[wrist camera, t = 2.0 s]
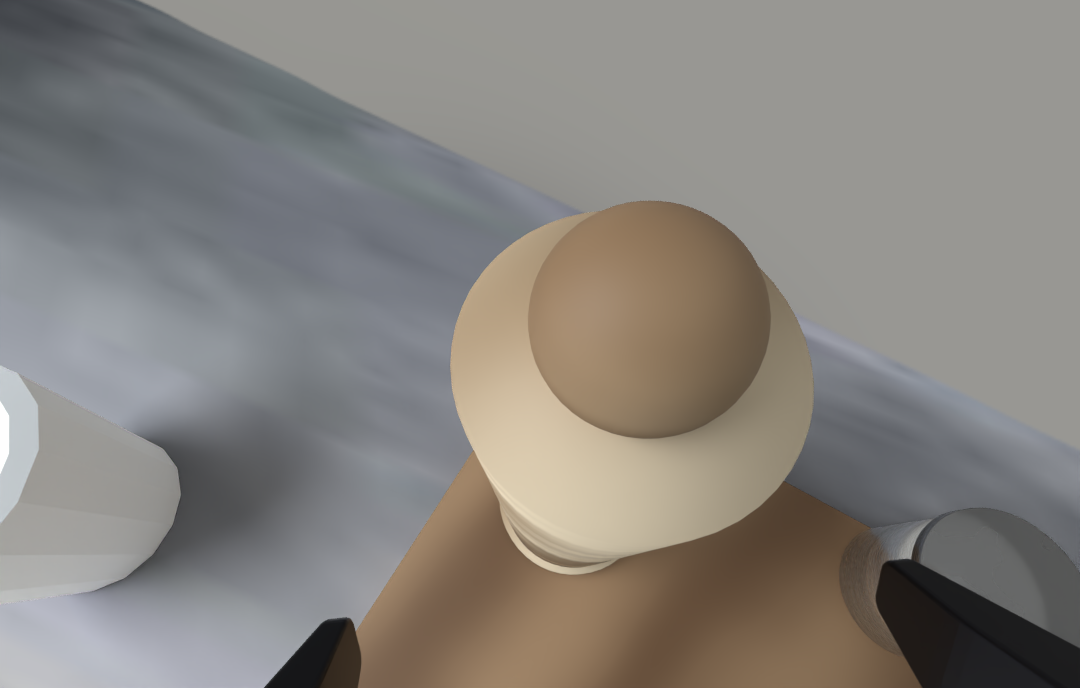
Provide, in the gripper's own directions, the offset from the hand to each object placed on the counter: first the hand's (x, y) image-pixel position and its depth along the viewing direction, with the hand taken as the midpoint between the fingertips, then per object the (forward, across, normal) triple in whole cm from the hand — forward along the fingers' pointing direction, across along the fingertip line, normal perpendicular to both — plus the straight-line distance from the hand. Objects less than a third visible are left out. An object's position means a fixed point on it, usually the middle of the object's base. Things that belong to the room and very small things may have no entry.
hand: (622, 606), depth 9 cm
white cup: (+11, +18, +5) cm, 21 cm away
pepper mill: (+9, 0, +4) cm, 10 cm away
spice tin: (+6, -11, +7) cm, 14 cm away
